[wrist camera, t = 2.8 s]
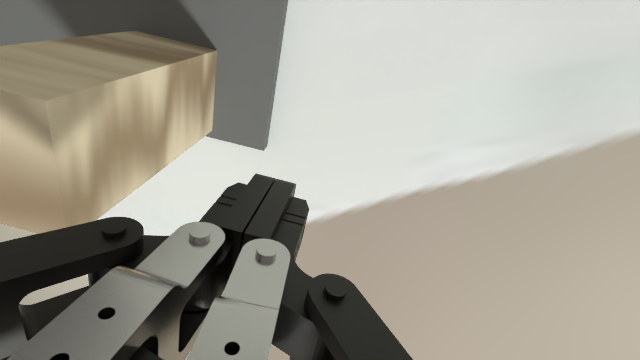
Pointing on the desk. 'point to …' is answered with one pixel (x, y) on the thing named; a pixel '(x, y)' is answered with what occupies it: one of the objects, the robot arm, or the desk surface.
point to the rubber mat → (186, 26)
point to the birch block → (95, 121)
